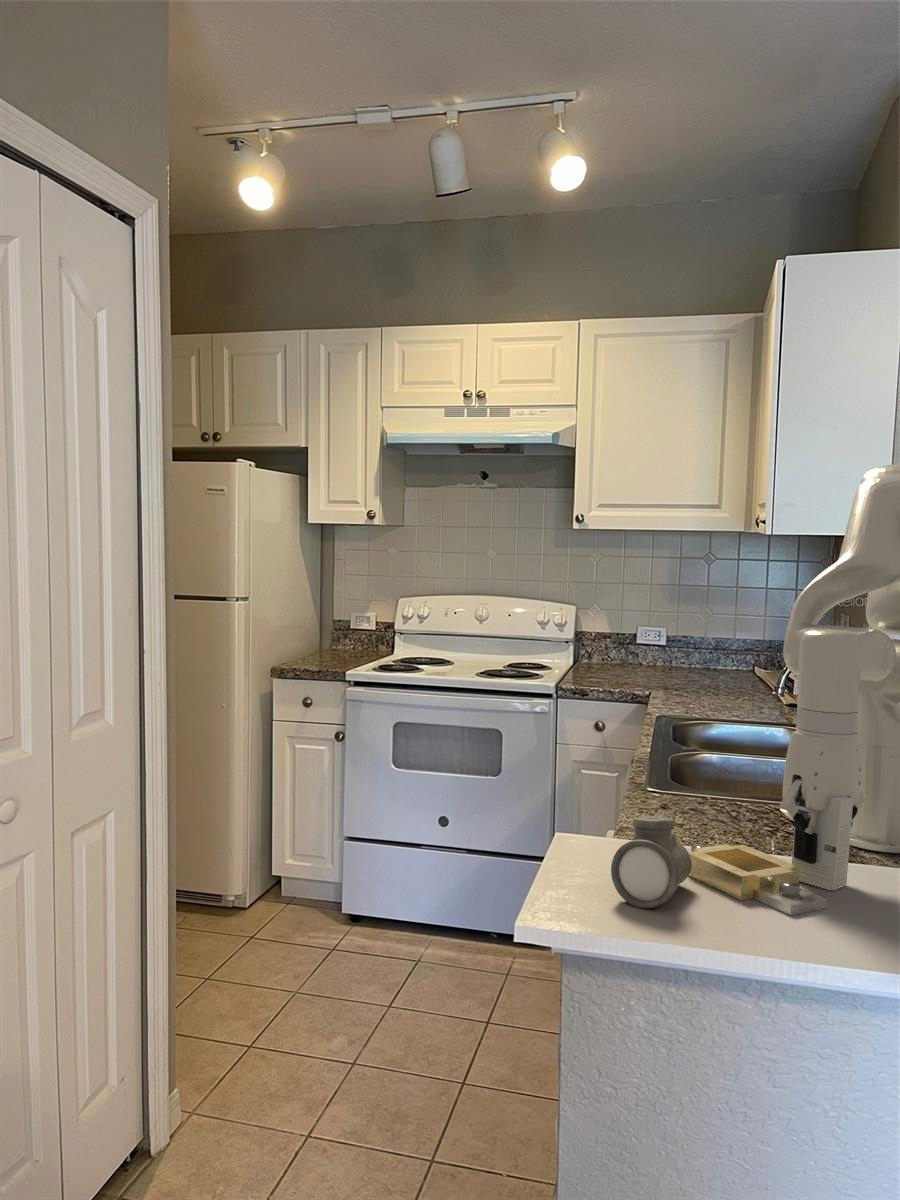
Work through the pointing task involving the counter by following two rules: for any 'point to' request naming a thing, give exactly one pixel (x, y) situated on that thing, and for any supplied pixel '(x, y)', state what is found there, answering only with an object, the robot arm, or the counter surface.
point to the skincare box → (829, 846)
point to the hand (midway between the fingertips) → (820, 856)
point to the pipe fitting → (650, 863)
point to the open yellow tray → (753, 877)
